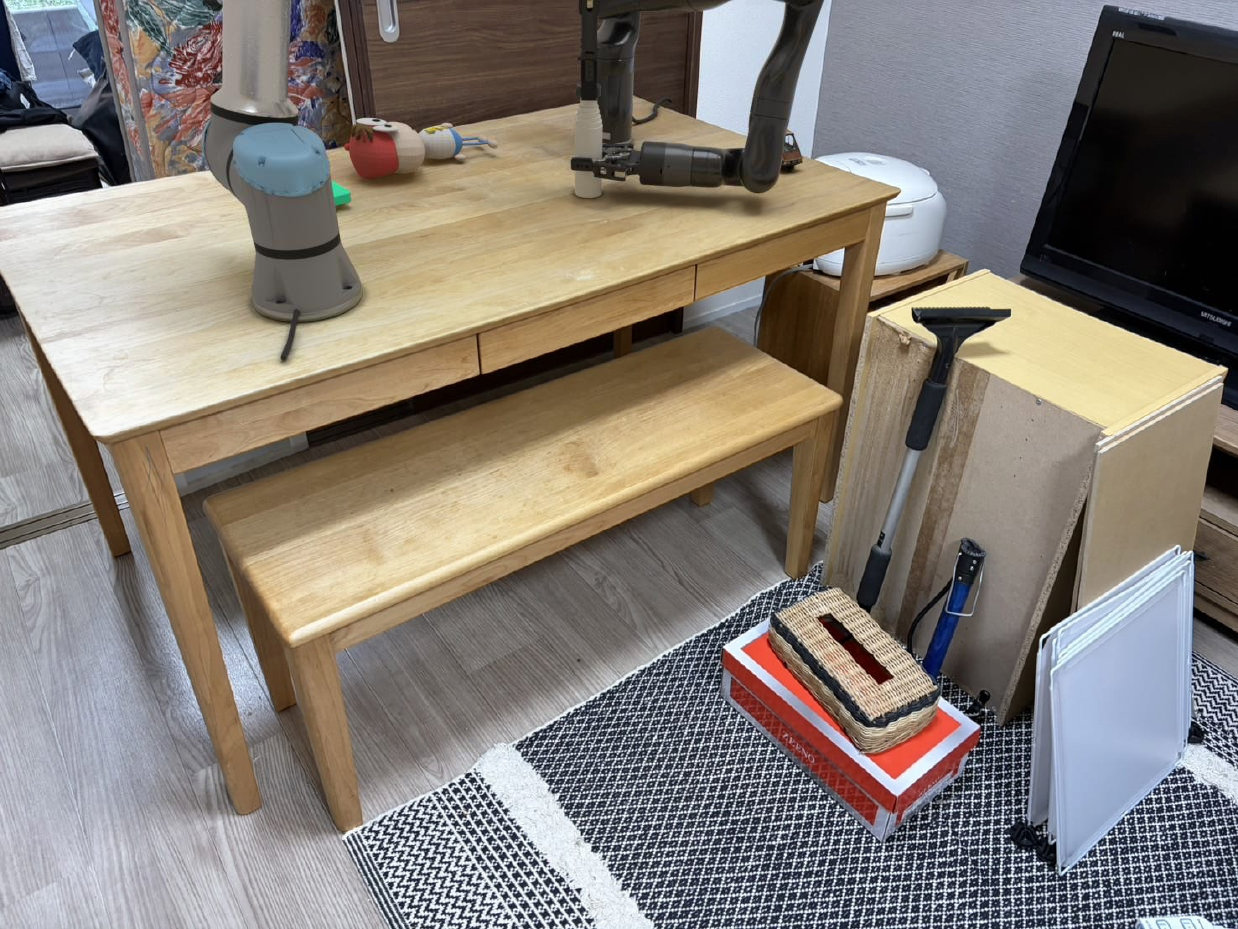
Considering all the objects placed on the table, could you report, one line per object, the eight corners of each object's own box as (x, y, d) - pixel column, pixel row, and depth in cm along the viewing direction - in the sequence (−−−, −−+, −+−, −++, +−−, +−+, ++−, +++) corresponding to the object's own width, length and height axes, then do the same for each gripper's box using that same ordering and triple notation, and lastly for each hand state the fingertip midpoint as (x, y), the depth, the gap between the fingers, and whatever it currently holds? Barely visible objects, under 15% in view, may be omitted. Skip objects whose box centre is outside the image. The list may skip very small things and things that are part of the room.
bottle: (582, 199, 168) (583, 94, 157) (570, 191, 172) (569, 87, 161) (606, 195, 170) (608, 91, 159) (593, 186, 174) (594, 84, 163)
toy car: (763, 152, 192) (768, 117, 188) (807, 168, 184) (812, 133, 180) (742, 157, 188) (745, 123, 184) (785, 174, 181) (790, 139, 177)
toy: (513, 124, 177) (360, 128, 162) (513, 178, 182) (363, 187, 167) (473, 109, 190) (327, 111, 175) (473, 159, 195) (331, 166, 180)
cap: (582, 99, 158) (582, 89, 157) (572, 93, 161) (572, 82, 160) (605, 97, 160) (605, 86, 159) (594, 90, 163) (594, 80, 162)
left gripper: (566, -66, 153) (567, 81, 167) (565, -50, 140) (566, 110, 154) (611, -65, 154) (608, 82, 168) (615, -48, 140) (612, 110, 154)
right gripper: (671, 131, 170) (579, 125, 171) (665, 156, 158) (566, 150, 160) (668, 171, 174) (579, 165, 175) (662, 199, 163) (567, 192, 164)
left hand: (588, 95), depth 161 cm, fingers open, 4 cm apart
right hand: (574, 158), depth 168 cm, fingers closed on bottle, 5 cm apart
